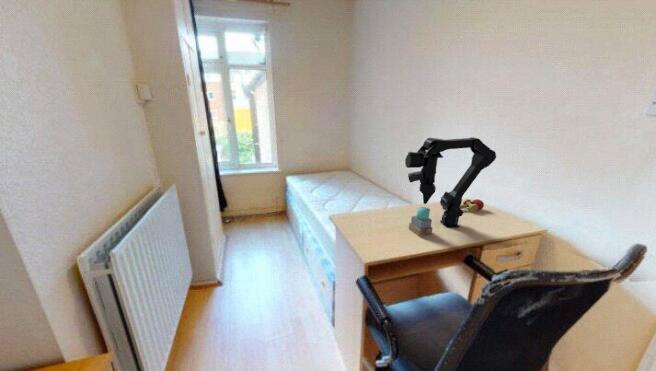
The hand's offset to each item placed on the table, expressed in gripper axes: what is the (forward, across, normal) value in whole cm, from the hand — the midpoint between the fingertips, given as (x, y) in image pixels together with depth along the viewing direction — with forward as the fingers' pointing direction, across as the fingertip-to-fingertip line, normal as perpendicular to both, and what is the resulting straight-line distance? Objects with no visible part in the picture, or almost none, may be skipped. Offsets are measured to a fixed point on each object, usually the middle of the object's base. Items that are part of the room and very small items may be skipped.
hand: (424, 200), depth 117 cm
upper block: (+10, +7, 0) cm, 12 cm away
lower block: (+13, +7, 0) cm, 15 cm away
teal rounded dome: (+6, +7, 0) cm, 9 cm away
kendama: (+14, -28, +23) cm, 39 cm away
